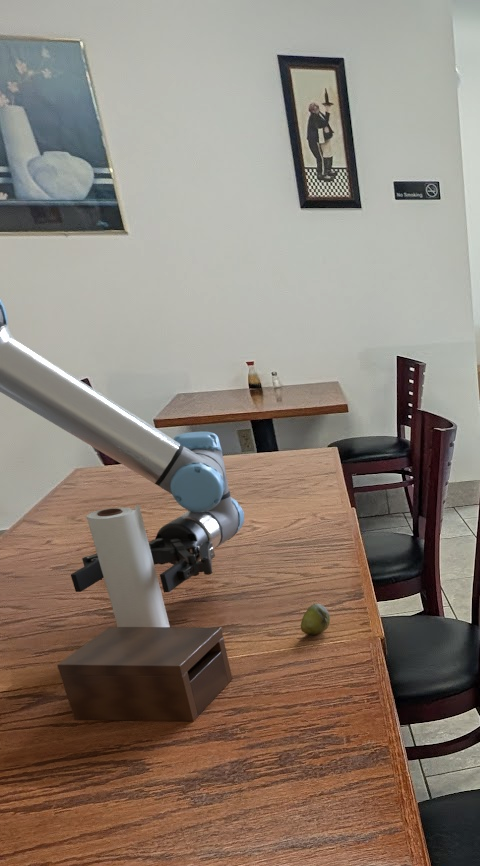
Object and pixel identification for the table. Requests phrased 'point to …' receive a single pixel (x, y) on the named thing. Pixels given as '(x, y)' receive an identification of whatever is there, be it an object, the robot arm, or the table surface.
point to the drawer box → (146, 673)
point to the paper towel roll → (128, 567)
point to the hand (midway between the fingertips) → (119, 583)
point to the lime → (315, 620)
